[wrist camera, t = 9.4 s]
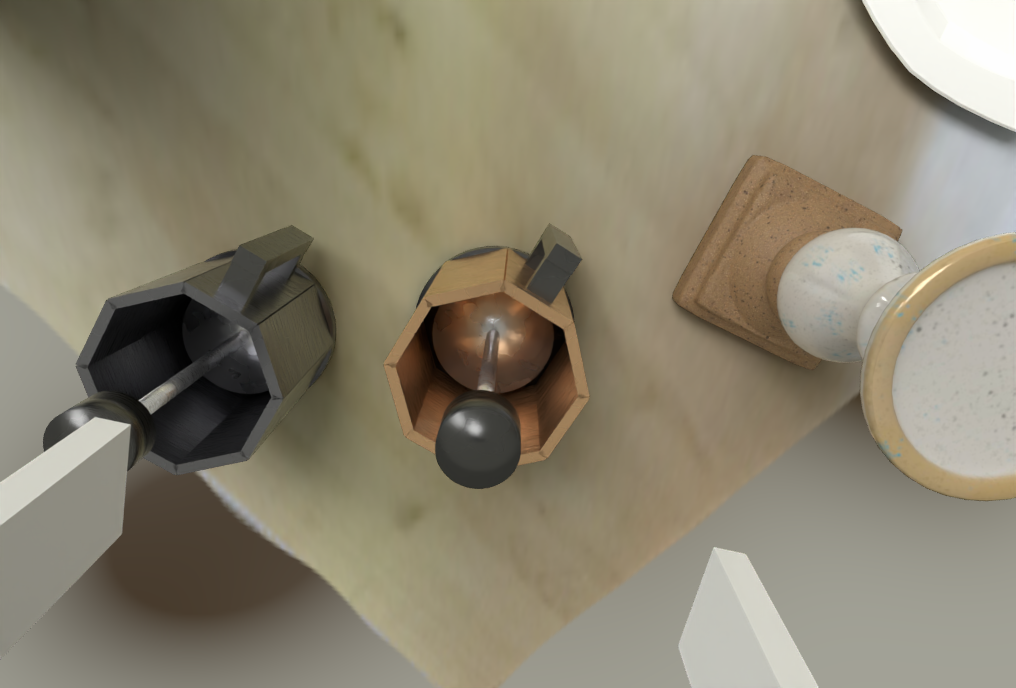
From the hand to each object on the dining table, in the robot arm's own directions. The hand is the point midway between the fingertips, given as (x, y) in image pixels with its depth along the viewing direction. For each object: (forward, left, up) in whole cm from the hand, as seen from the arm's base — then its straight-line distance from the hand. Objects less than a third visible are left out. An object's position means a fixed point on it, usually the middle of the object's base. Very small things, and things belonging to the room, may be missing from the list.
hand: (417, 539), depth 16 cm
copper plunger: (+3, -3, -32) cm, 32 cm away
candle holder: (+17, +11, -34) cm, 40 cm away
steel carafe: (-11, -11, -34) cm, 38 cm away
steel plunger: (-11, -12, -32) cm, 36 cm away
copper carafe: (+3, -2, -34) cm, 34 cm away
